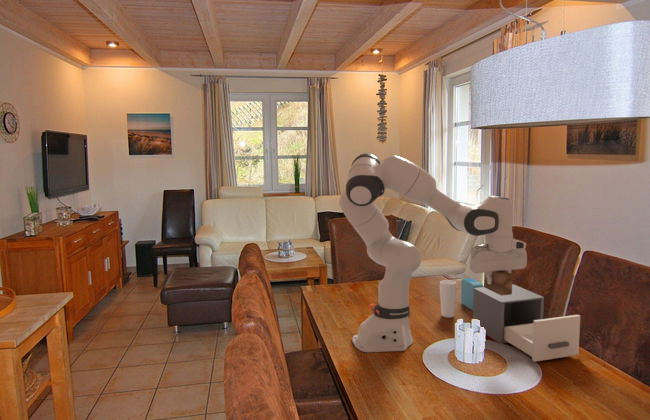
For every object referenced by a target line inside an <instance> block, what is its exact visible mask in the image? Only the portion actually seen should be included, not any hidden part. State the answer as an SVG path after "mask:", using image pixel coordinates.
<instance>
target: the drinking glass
mask: <svg viewBox="0 0 650 420" xmlns="http://www.w3.org/2000/svg"><path fill="white" fill-rule="evenodd" d="M439 297H440V298H439V299H440V311H441V312H440V313H441V314H440V315H441V317H443V318H448V319H449V318H453V317H455V308H456V300H457V299H456V298H457V282H456V281H455V280H452V279H443V280H440V281H439Z"/></svg>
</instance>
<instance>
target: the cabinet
mask: <svg viewBox="0 0 650 420" xmlns="http://www.w3.org/2000/svg"><path fill="white" fill-rule="evenodd" d="M544 308H545V297H544V296H543V295H540V294H539V293H538V294H537V293H535V292H533V291H530V290H528V289H526V288H523V287H521V286H519V285H517V284H513V283H512V294H511V295H502V296H501V295H499V294H497V293H495V292H493V291H491V290H489V289H487V288H485V287H484V286H483V287H480V288H474V294H473V311H472V320H473V319H478V320H480V325H481V327H484V328H485V329H486V334H487V335H486V334H485V335H486V336H488V337H489V338H491V339H492V340H494V341H495V342H497V343H499V344H500V343H502V344H507V343H508V344H510V343H509V342H507V341H506V340H504V327H506V326H514V325H522V324H529V323H533V322H534V320H541V319H544V310H545V309H544Z"/></svg>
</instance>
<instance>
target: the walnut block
mask: <svg viewBox="0 0 650 420" xmlns="http://www.w3.org/2000/svg"><path fill="white" fill-rule="evenodd" d="M490 276H491V278H492V279H494V284H488V283H487V277H486V276H485V274H484V273H483V287H485V288H487V289H489V290H491V291H493V292H495V293H497V294H499V295H501V296H502V295H511V294H512V284H513V273H512V272H511V273H509V272H506V271H494V272H492V275H490Z"/></svg>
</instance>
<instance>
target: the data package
mask: <svg viewBox="0 0 650 420" xmlns="http://www.w3.org/2000/svg"><path fill="white" fill-rule="evenodd" d="M460 282H461V283H460V284H461V285H460V286H461V288H460V289H461V291H460V296H461V298H460V299H461V300H460V302H461V303H462V305H463V306H465V307H466V308H468V309H469V310H471V311H472V312H473V294H474V288H480V287H484V283H481V282H480V281H478V280H476V279H474V278H472V277H471V278H462V279H461V281H460Z"/></svg>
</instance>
